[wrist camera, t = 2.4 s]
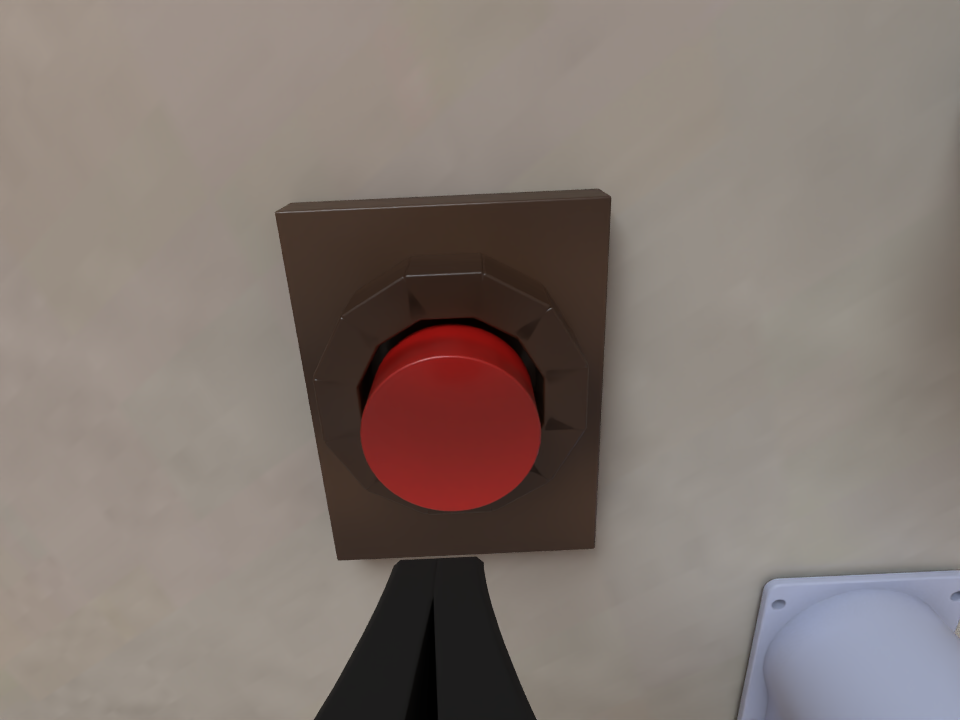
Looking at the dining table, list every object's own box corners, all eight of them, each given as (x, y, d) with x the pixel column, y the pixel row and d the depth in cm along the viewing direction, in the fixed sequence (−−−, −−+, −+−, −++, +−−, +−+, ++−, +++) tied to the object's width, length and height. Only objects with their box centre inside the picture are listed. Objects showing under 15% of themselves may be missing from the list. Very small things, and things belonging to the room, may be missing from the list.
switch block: (586, 521, 22) (607, 593, 19) (345, 532, 22) (324, 606, 19) (600, 188, 17) (631, 208, 14) (289, 202, 17) (248, 226, 14)
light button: (532, 461, 17) (541, 508, 15) (382, 468, 17) (370, 516, 15) (532, 318, 15) (541, 351, 13) (363, 327, 15) (348, 360, 13)
